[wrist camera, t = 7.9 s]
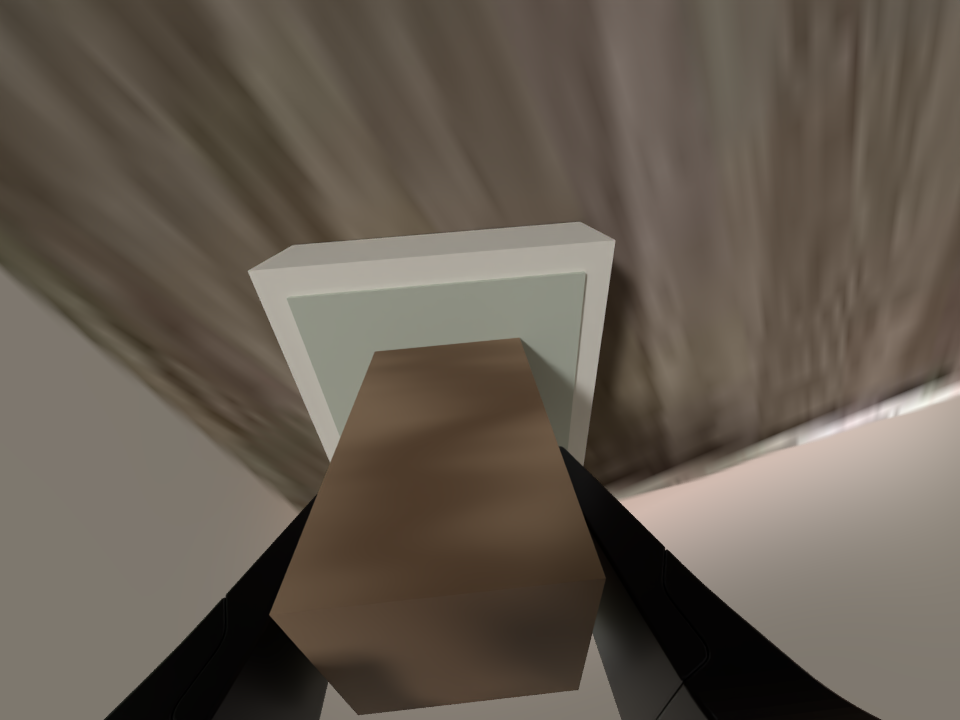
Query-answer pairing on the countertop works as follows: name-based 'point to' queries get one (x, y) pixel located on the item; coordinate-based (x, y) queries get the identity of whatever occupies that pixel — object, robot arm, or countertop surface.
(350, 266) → the base slab
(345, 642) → the walnut block
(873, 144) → the countertop surface
